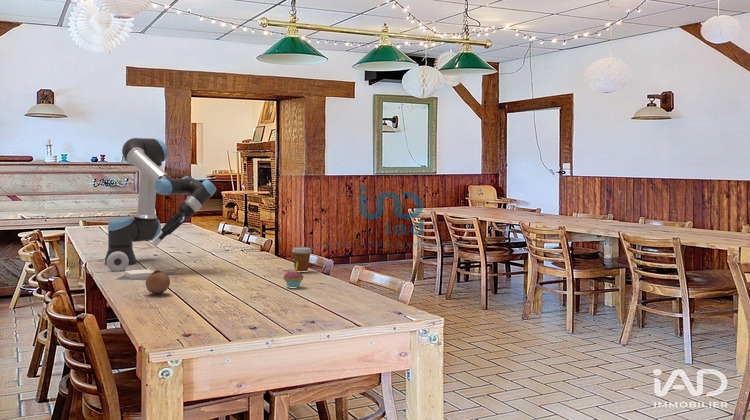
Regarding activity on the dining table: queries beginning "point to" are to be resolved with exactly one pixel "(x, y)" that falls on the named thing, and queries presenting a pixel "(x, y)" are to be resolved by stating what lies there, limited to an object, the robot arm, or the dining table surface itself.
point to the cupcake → (293, 278)
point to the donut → (114, 256)
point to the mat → (139, 278)
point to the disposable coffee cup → (301, 258)
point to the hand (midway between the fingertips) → (153, 243)
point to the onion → (157, 282)
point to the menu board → (138, 273)
